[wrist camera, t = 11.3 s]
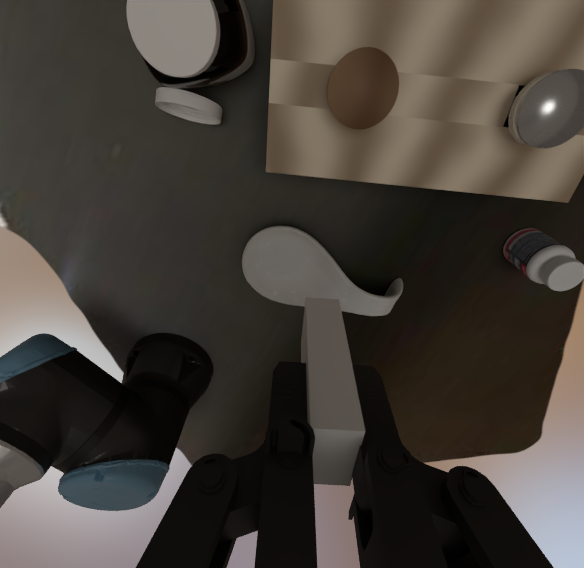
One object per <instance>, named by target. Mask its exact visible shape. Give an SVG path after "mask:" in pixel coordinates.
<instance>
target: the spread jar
mask: <svg viewBox="0 0 584 568" xmlns="http://www.w3.org/2000/svg"><path fill="white" fill-rule="evenodd" d="M127 20H128V26H129V30H130V33H131V36H132V39H133V41H134V43H135V45H136V47H137V49H138V50H139V52H140V53H141V55H142V57H143V60H144V61H145V63H146V65H147V67H148V69H149V70H150V72H151V73H152V75H153V76H154V77H155V78H156V79H157V80H158V81H159V82H160V83H161V84H162V85H164V86H167V87H160V88H158V89H156V100H155V105H156V106H157V107H158V108H160V109H161V110H163V111H165V112H167V113H169V114H172V115H174V116H177V117H180V118H183V119H186V120H190V121H193V122H198V123H203V124H210V125H217V124H220V123H221V117H222V108H221V107H220V106H219V105H218V104H217V103H215V102H213V101H212V100H210V99H208V98H205V97H203V96H200V95H198V94H195V93H192V92H189V91H185V90H181V89H176V88H201V87H209V86H214V85H219V84H222V83H225V82H227V81H230V80H232V79H234V78H236V77H238V76H239V75H241V74H242V73H244V72H245V71H246V70H248V69H249V68H250V67H251V65H252V64H253V61H254V58H255V41H254V34H253V29H252V24H251V21H250V17H249V14H248V11H247V8H246V5H245V3H244V1H243V0H127Z"/></svg>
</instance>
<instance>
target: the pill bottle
mask: <svg viewBox="0 0 584 568" xmlns="http://www.w3.org/2000/svg"><path fill="white" fill-rule="evenodd" d="M503 253H504V256H505V257H506V259H507V260H508V261H510V262H511V263H512V264H513V265H514V266H516V267H517V268H518V269H519V270H520V271H522V272H523V273H524V274H525V275H526V276H527V277H528V278H530V279H531V280H533V281H534V282H537V283H540V284H545V285H547V286H548V287H549V288H551V289H552V290H555V291H565V290H568V289H571V288H573V287H575V286H576V285H578V284H579V283H580V282H581V281H582V280H583V278H584V265H583V264H582V263H580V262H579V261H578V260H576V259H575V255H574V253H573V252H572V251H571V250H570V249H569V248H567V247H565V246H564V245H562V244H560V243H559V242H557V241H555V240H554V239H552V238H550V237H549V236H547V235H546V234H544V233H543V232H541V231H540V230H538V229H535V228H525V229H522V230H519V231H517V232H515V233H514V234H513V235H511V236H510V237H509V238H508V240H507V241H506V243H505V245H504V248H503Z"/></svg>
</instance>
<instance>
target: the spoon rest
mask: <svg viewBox="0 0 584 568" xmlns="http://www.w3.org/2000/svg"><path fill="white" fill-rule="evenodd" d="M242 269H243V273H244V276H245V278H246V280H247V281H248V283H249V284H250V285H251V287H252V288H253V289H255V290H256V291H257V292H258V293H260V294H261V295H263V296H264V297H266V298H268V299H270V300H273V301H276V302H280V303H284V304H289V305H296V306H305V300H306V297H308V298H324V299H339V302H340V307H341V311H345V312H351V313H355V314H360V315H367V316H383V315H386V314H388V313H389V312H390V311H391V309H392V307H393V305H394V304H395V302H396V300H397V299H398V298H399V297H400V295H401V294H402V291H403V282H402V279H401V278H397V279H395V280H394V281H393V282H392V283H391V285H390V286H389V288H388V290H387V292H386V294H385V295H384V296H378V295H374V294H370V293H368V292H366V291H364V290H362V289H360V288H359V287H357V286H356V285H355V284H354V283H353V282H351V281H350V280H349V278H348V277H347V276H346V275H345V274H344V272H343V271H342V270H341V268H340V267H339V266H338V264H337V263H336V262H335V260H334V259H333V258H332V257H331V255H330V254H329V253H328V252H327V251H326V249H325V248H324V247H323V246H322V245H321V244H320V243H319V242H318V241H317V240H315V239H314V238H313V237H312V236H310V235H309V234H307V233H306V232H304V231H302V230H300V229H297V228H294V227H290V226H272V227H268V228H265V229H263V230H261V231H259V232H258V233H256V234H255V235H254V236H253V237H252V238H251V239H250V240H249V242H248V243H247V245H246V247H245V249H244V252H243V256H242Z"/></svg>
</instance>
